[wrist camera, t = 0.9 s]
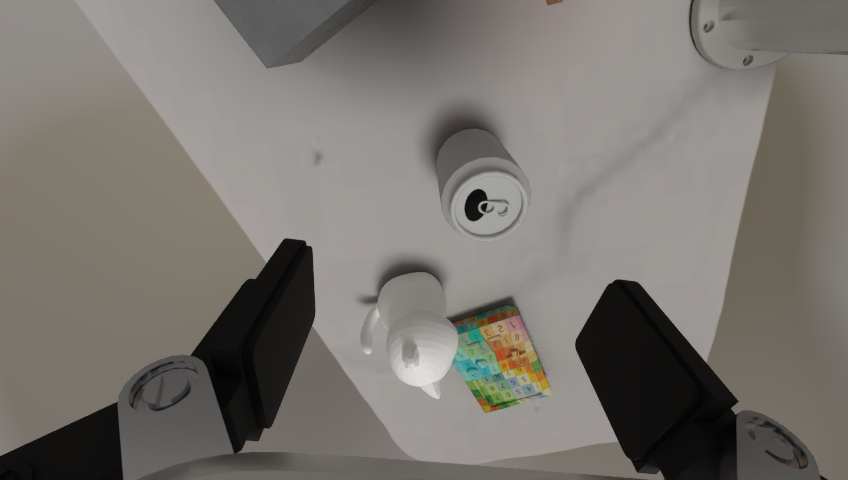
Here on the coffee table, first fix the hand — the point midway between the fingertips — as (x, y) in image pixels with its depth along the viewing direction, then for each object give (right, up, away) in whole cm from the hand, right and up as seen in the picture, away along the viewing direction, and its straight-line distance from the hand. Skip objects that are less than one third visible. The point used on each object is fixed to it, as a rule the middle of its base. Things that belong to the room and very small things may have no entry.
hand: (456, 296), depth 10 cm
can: (+4, +11, +26) cm, 28 cm away
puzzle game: (+10, -16, +43) cm, 47 cm away
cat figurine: (-3, -5, +36) cm, 36 cm away
